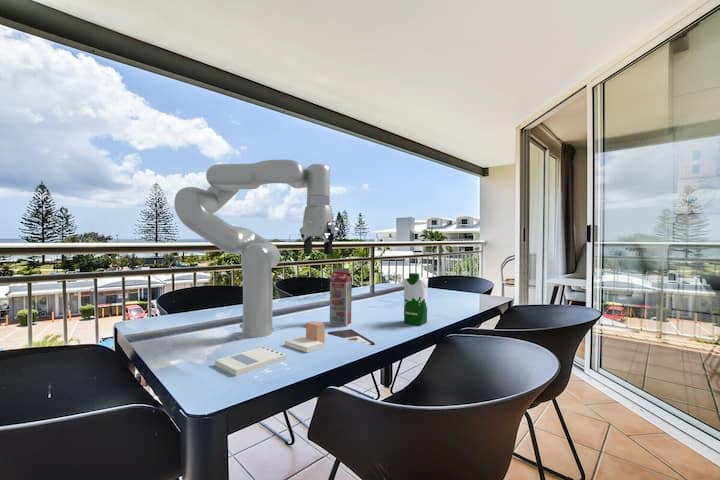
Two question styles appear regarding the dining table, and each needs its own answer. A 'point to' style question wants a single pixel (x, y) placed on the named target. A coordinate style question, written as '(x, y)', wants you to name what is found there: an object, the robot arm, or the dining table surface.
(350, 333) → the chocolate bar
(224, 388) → the dining table surface
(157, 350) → the dining table surface
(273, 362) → the cream flat block
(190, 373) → the dining table surface
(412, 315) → the milk carton
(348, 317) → the juice carton
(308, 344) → the stub
